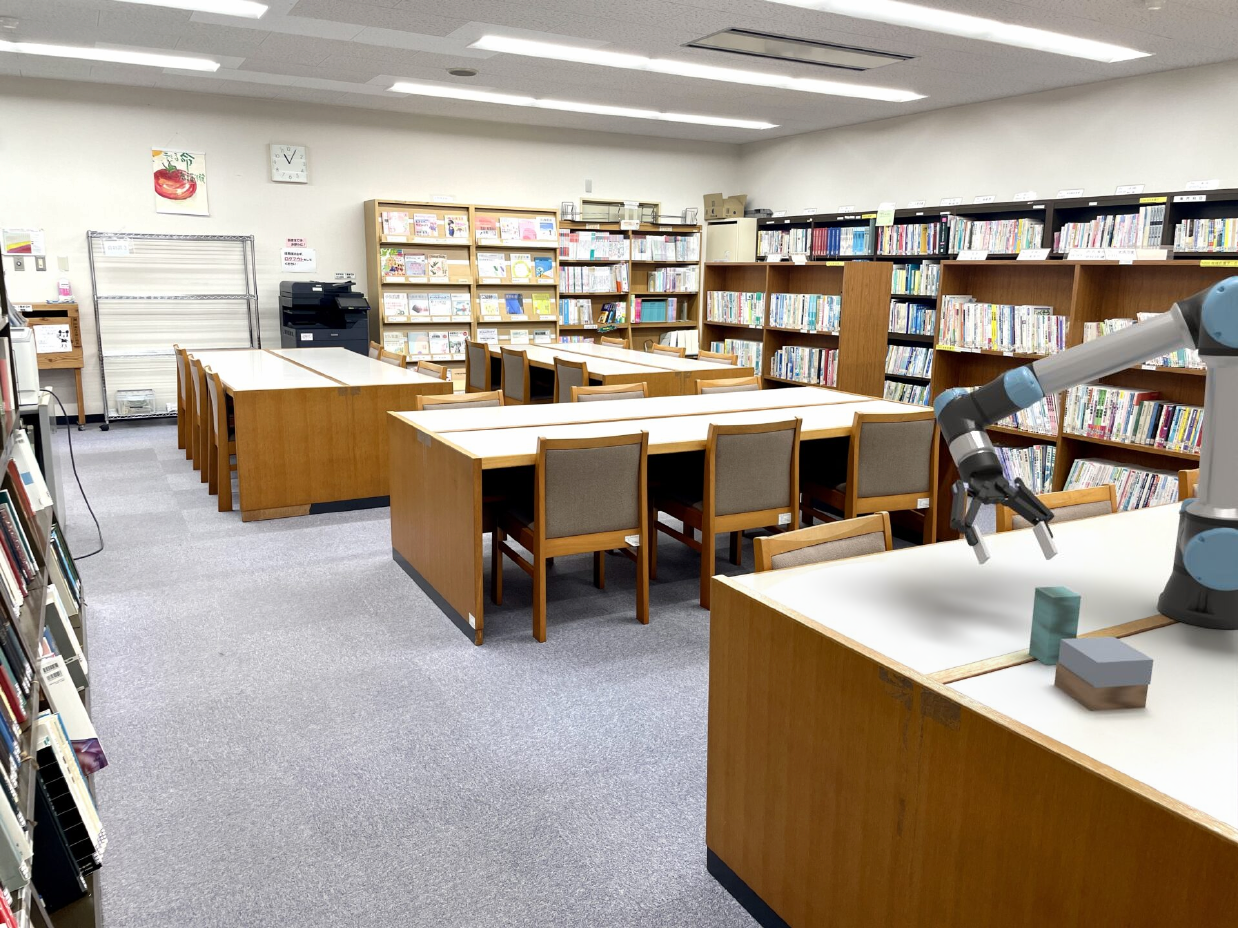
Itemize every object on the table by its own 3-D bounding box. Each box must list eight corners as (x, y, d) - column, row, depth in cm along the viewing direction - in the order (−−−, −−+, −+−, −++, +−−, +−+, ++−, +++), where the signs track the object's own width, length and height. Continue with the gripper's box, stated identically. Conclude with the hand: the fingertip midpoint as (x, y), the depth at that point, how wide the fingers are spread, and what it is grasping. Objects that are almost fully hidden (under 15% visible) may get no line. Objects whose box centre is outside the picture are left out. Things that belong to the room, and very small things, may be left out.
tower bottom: (1106, 682, 143) (1108, 659, 142) (1145, 708, 134) (1148, 683, 133) (1054, 685, 142) (1056, 662, 141) (1090, 711, 133) (1093, 687, 132)
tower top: (1110, 659, 142) (1113, 636, 141) (1150, 684, 133) (1153, 659, 132) (1058, 662, 141) (1060, 638, 140) (1094, 687, 132) (1097, 662, 131)
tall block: (1055, 651, 154) (1062, 586, 152) (1073, 663, 149) (1081, 596, 147) (1029, 653, 154) (1035, 587, 151) (1046, 665, 149) (1053, 597, 146)
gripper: (1023, 468, 176) (1067, 563, 164) (909, 473, 170) (946, 572, 159) (1043, 447, 169) (1091, 544, 158) (926, 451, 164) (966, 552, 153)
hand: (1019, 558), depth 158 cm, fingers open, 13 cm apart
